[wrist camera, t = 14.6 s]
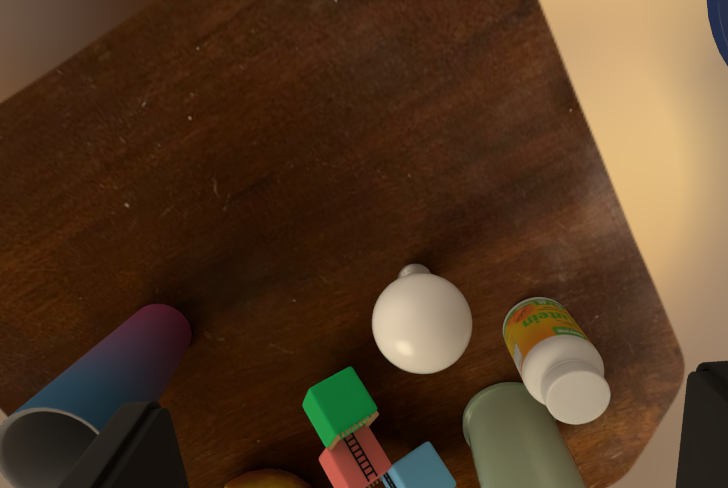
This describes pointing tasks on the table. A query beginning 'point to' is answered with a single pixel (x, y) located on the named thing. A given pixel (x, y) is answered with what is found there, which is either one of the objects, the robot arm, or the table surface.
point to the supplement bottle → (556, 360)
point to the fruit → (267, 480)
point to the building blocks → (364, 440)
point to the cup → (92, 396)
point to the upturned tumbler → (517, 441)
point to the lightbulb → (421, 321)
